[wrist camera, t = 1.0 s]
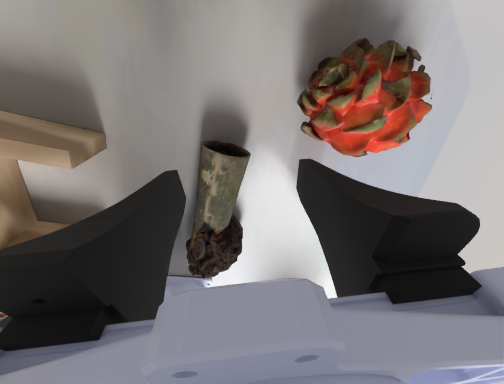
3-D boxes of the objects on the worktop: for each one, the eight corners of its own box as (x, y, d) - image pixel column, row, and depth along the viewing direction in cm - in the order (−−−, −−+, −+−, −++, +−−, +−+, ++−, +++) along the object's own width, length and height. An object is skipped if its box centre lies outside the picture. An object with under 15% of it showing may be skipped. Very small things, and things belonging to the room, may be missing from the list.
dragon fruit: (277, 77, 19) (368, 99, 23) (278, 162, 18) (371, 169, 22) (343, -18, 11) (467, 40, 15) (349, 127, 10) (477, 148, 14)
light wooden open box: (115, 237, 25) (92, 271, 21) (25, 228, 23) (-20, 263, 18) (104, 133, 18) (68, 151, 14) (-24, 105, 16) (-114, 116, 12)
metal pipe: (203, 135, 20) (197, 154, 15) (264, 149, 21) (276, 170, 17) (186, 252, 28) (178, 288, 23) (230, 256, 30) (232, 290, 25)
